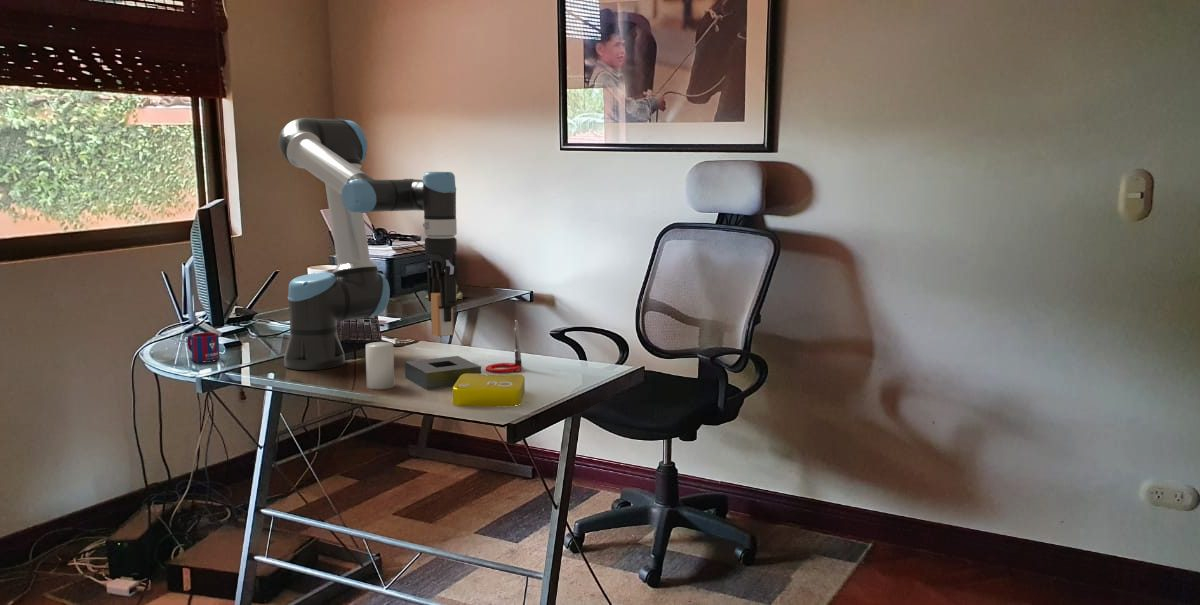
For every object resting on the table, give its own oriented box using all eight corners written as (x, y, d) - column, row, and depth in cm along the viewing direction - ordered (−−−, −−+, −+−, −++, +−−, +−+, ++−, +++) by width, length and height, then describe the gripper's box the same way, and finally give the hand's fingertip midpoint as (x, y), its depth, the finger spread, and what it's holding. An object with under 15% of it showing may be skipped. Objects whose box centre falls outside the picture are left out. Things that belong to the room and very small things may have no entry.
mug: (201, 363, 241) (200, 338, 240) (180, 358, 247) (178, 333, 246) (224, 359, 247) (223, 334, 245) (203, 354, 252) (202, 330, 251)
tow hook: (484, 375, 233) (521, 373, 234) (482, 325, 231) (519, 323, 232) (486, 368, 242) (521, 366, 242) (483, 319, 240) (519, 317, 240)
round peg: (363, 384, 221) (361, 343, 219) (389, 381, 224) (387, 341, 222) (371, 390, 215) (370, 348, 214) (398, 387, 219) (397, 345, 217)
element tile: (525, 391, 217) (525, 371, 217) (519, 408, 203) (519, 387, 202) (461, 390, 217) (461, 370, 217) (451, 407, 203) (450, 386, 202)
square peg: (431, 333, 225) (430, 293, 223) (447, 332, 227) (446, 291, 225) (438, 336, 221) (437, 295, 220) (453, 334, 223) (452, 294, 222)
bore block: (405, 377, 228) (404, 361, 227) (457, 371, 235) (457, 355, 235) (426, 389, 216) (426, 373, 216) (481, 382, 224) (481, 366, 223)
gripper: (412, 234, 226) (414, 329, 229) (439, 240, 211) (441, 340, 215) (441, 233, 230) (443, 326, 233) (469, 238, 215) (471, 337, 219)
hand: (442, 333), depth 224 cm, fingers closed on square peg, 4 cm apart
